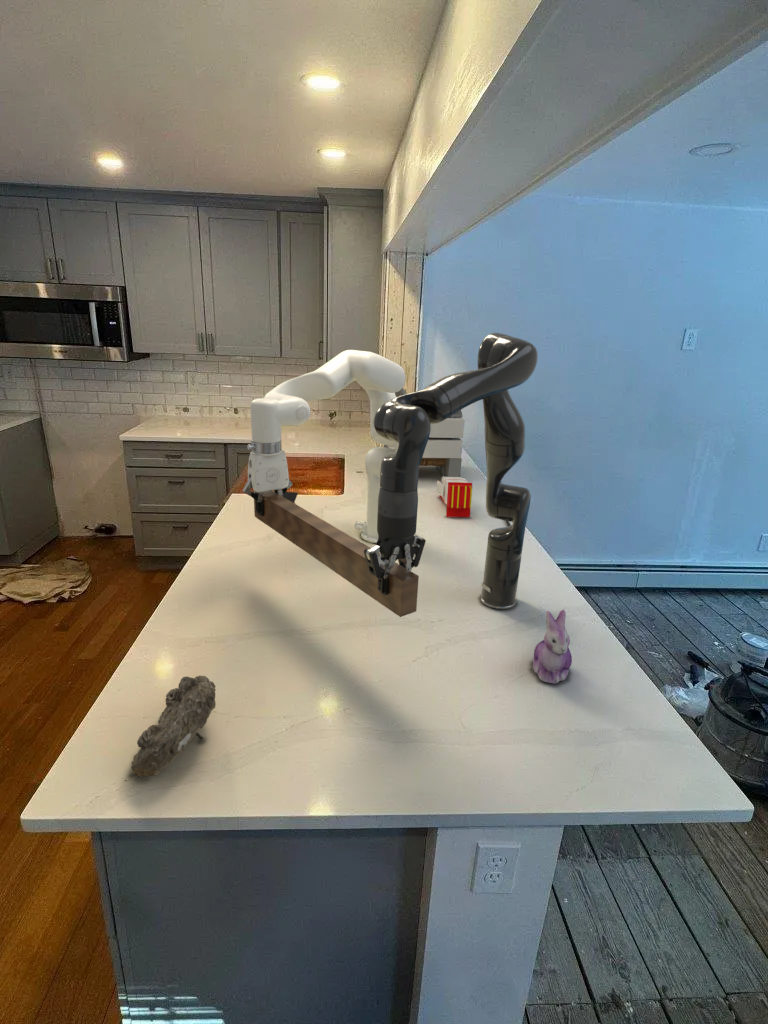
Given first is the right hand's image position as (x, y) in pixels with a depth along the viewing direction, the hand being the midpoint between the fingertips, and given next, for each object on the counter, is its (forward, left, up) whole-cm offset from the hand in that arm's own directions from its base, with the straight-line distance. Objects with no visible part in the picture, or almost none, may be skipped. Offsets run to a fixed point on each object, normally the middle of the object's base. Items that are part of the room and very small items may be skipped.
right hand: (393, 590), depth 113 cm
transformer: (-158, -48, -22) cm, 166 cm away
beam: (-14, -24, -3) cm, 27 cm away
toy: (-118, -20, -22) cm, 122 cm away
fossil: (+31, -28, -22) cm, 47 cm away
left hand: (-27, -47, -1) cm, 55 cm away
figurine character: (-76, -72, -22) cm, 107 cm away
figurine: (-19, +31, -22) cm, 43 cm away
